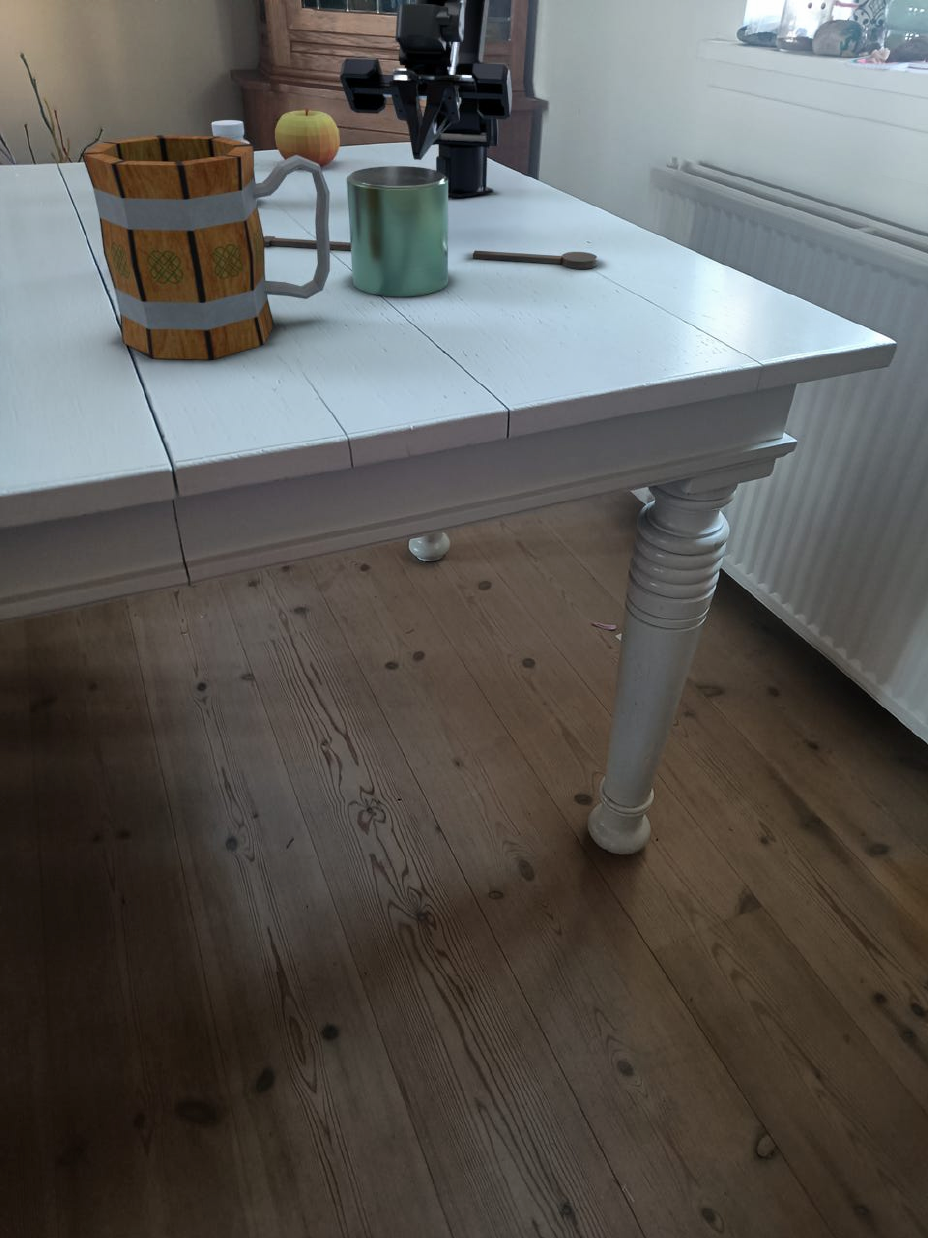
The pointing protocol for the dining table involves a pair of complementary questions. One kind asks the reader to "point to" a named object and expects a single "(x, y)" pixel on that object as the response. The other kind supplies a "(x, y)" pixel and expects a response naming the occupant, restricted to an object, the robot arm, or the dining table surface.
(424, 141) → the robot arm
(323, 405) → the dining table surface
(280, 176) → the mug
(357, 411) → the dining table surface
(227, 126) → the pill bottle
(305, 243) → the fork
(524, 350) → the dining table surface
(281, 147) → the apple
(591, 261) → the spoon
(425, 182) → the can
